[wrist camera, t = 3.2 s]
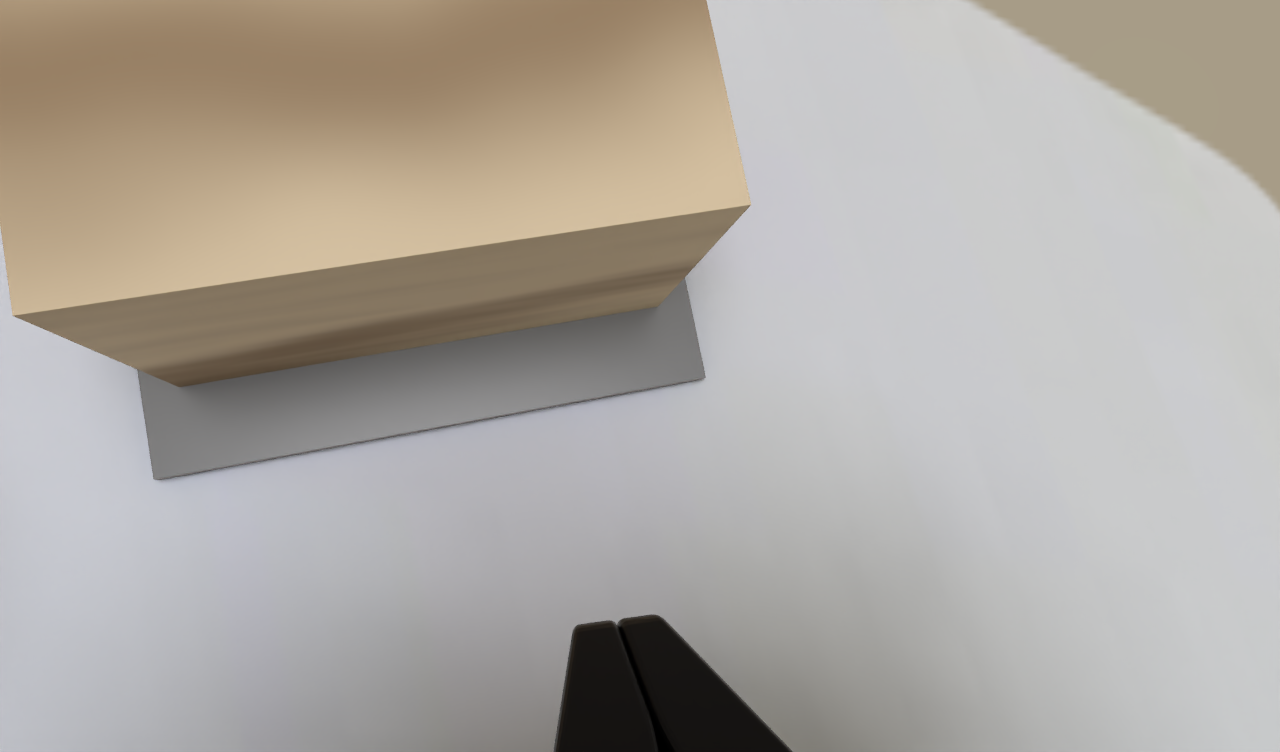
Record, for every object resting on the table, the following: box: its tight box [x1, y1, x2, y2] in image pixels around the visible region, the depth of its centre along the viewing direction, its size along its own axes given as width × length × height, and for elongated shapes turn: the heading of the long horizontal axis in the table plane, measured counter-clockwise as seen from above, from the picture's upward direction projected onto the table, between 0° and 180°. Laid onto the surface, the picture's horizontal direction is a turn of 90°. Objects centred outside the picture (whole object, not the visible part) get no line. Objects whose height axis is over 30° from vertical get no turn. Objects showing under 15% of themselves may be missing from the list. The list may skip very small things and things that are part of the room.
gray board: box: [137, 278, 706, 480], centre depth 23 cm, size 12×13×1 cm
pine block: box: [0, 0, 751, 387], centre depth 19 cm, size 6×11×8 cm, turn 101°
